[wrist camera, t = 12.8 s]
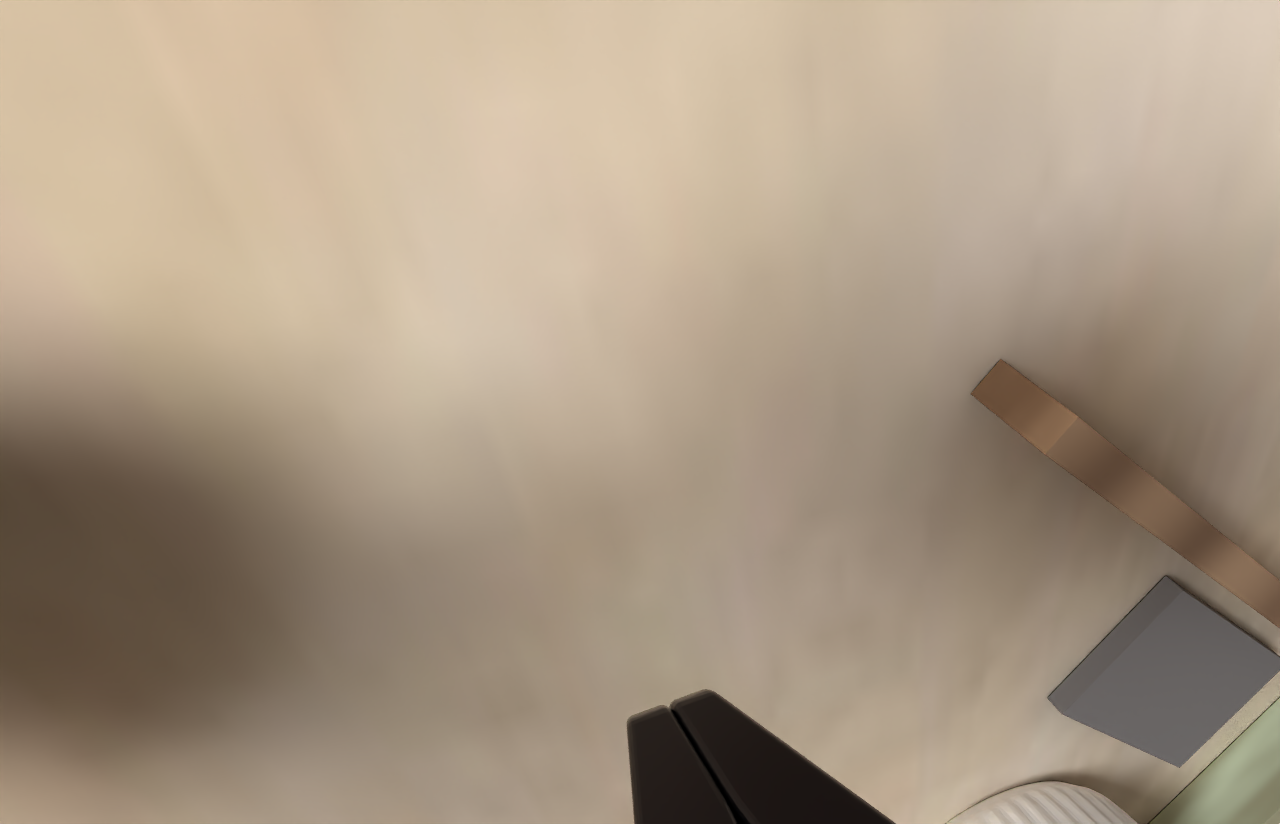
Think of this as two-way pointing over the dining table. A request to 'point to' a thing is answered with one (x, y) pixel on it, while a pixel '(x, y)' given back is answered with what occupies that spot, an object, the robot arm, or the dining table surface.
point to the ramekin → (1045, 807)
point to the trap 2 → (1167, 675)
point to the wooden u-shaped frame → (1276, 742)
